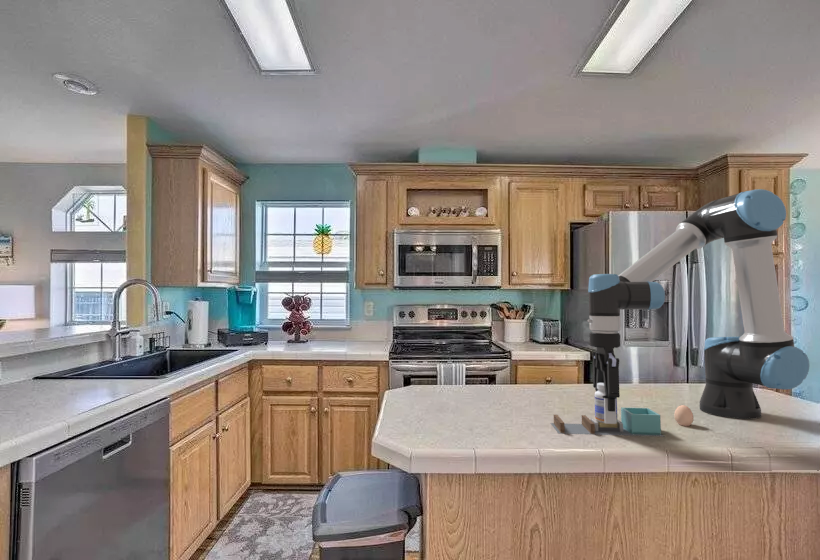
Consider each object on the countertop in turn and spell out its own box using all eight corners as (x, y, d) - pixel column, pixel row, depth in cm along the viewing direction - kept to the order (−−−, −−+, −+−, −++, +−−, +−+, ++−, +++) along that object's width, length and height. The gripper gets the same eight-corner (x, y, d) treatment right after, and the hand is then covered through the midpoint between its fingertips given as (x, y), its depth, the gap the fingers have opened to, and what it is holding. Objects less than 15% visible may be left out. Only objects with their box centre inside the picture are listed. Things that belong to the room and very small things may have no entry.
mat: (648, 427, 117) (648, 425, 117) (664, 438, 108) (664, 436, 108) (550, 424, 120) (550, 423, 120) (558, 434, 111) (558, 433, 111)
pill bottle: (614, 418, 116) (613, 382, 116) (620, 424, 111) (619, 386, 111) (593, 417, 117) (592, 381, 117) (597, 423, 112) (596, 385, 112)
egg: (696, 429, 115) (695, 407, 115) (677, 427, 116) (676, 406, 117) (691, 424, 119) (690, 403, 119) (672, 423, 121) (672, 402, 121)
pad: (613, 424, 115) (613, 419, 115) (617, 427, 112) (617, 422, 112) (596, 423, 115) (596, 419, 116) (599, 427, 112) (599, 422, 113)
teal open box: (648, 426, 116) (648, 408, 116) (660, 435, 109) (660, 415, 109) (621, 426, 117) (621, 407, 117) (631, 434, 110) (631, 414, 110)
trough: (585, 424, 118) (585, 415, 118) (594, 433, 110) (594, 423, 110) (553, 423, 119) (553, 414, 119) (560, 432, 111) (560, 422, 111)
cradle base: (618, 427, 115) (617, 419, 115) (623, 431, 112) (623, 423, 112) (590, 427, 116) (590, 418, 116) (595, 431, 112) (594, 422, 112)
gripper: (580, 329, 124) (581, 410, 123) (601, 334, 106) (603, 430, 105) (607, 329, 123) (608, 411, 123) (633, 335, 105) (635, 431, 104)
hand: (606, 419), depth 114 cm, fingers closed on pill bottle, 5 cm apart
